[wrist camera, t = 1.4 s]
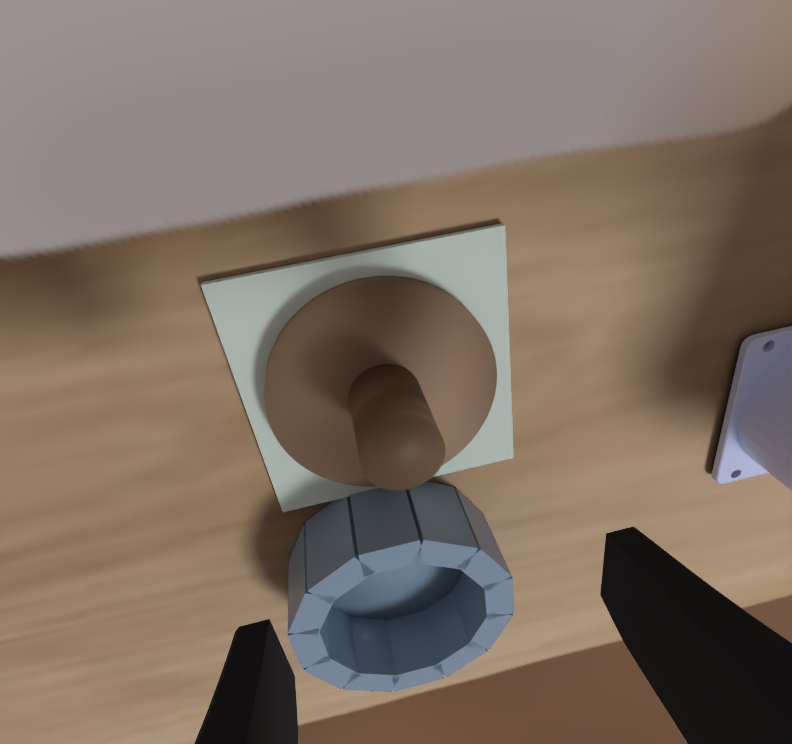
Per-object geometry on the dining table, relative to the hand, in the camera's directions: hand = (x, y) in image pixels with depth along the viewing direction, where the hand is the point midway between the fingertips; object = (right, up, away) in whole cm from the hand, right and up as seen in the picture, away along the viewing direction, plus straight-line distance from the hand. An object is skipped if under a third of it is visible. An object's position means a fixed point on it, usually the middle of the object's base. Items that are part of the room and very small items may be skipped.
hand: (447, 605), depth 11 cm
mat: (-2, +5, +8) cm, 10 cm away
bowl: (-1, -4, +13) cm, 14 cm away
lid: (-2, +4, +8) cm, 9 cm away
